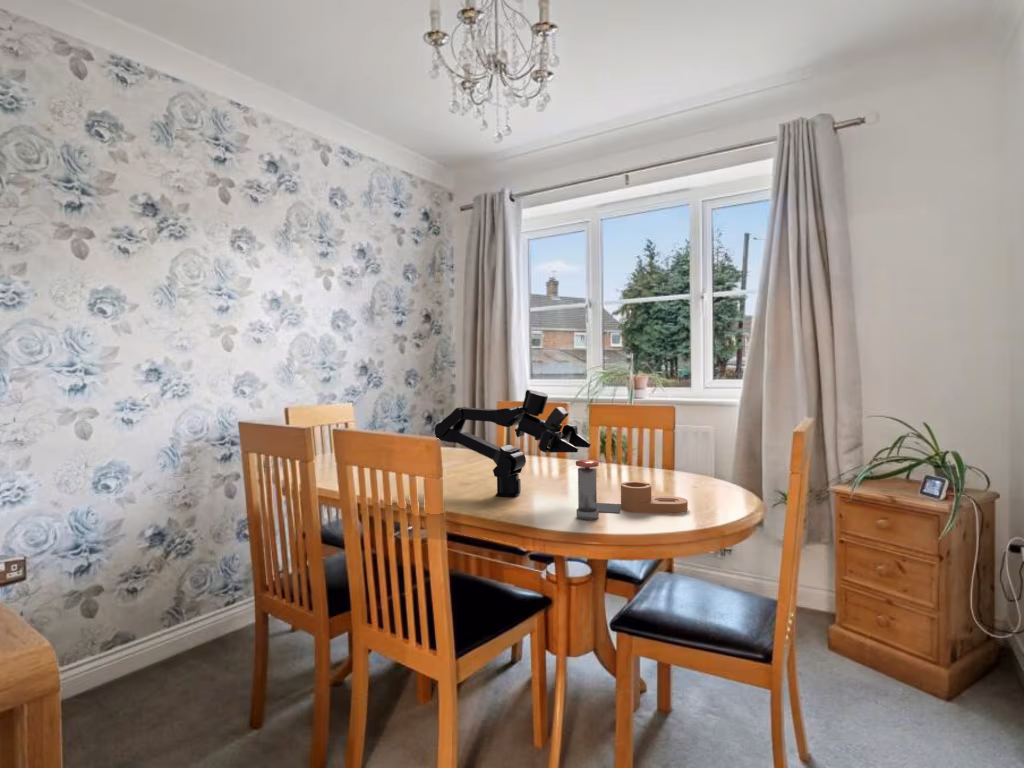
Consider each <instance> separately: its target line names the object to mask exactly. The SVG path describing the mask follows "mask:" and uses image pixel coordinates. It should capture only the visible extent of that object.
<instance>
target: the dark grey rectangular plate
mask: <svg viewBox="0 0 1024 768" xmlns="http://www.w3.org/2000/svg"><path fill="white" fill-rule="evenodd" d="M597 509H598V510H599V513H610V514H620V513H621V510H622V509H621V503H607V502H606V503H605V502H602V503H601V502H597Z"/></svg>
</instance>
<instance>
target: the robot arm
mask: <svg viewBox="0 0 1024 768" xmlns="http://www.w3.org/2000/svg"><path fill="white" fill-rule="evenodd" d="M548 398H549V395H548V394H547V393H545V392H543V391H537V390H532V389H526V390H525V394H524V399H523V403H522V405H521V406H512V407H511V406H510V407H504V408H498V409H496V408H495V409H494V408H481V407H480V408H479V407H478V408H477V407H467V406H462V407H456V408H455V409H454V410H453V411H452V412H451V413H450V414H449V415H447V416H446V417H445V418H443V419H442V421H440V422H438V423H437V424H436V425H435V427H434V435H435V438H436V439H437V438H439V439H440V440H439V439H438V440H439V441H442V442H446V443H452V444H453V443H454V444H458V445H461V446H463V447H465V448H467V449H469V450H471V451H472V452H475V453H478V454H480V455H482V456H483V457H486V458H488V459H490V460H492V461H493V463H494V464H495V465H496V466H495V467H494V468H493V469H492V473H493V476H494V477H496V486H497V487H496V491H497V492H496V493H495V496H496V497H507V498H508V497H512V498H513V497H514V498H515V497H517V496H518V495H519V494H520V493H521V491H522V490H521V489H522V487H521V484H522V483H521V478H519V477H520V476H519V475H520V473H522V470H523V468H524V467H525V466H526V463H527V460H526V459H527V458H526V455H525V453H524V452H523V451H521V448H517V447H515V446H513V445H511V444H505V445H503V446H498V445H496V444H494V443H491V442H489V441H487V440H486V439H483V438H481V437H479V436H476V435H474V434H472V433H470V432H467V431H466V430H465V428H464V426H465V424H466V421H479V422H490V423H494V424H495V425H498V426H500V427H504V428H510V427H513V426H517V428H514V431H515V436H516V438H520V437H523V436H524V435H525V434H526V435H529V436H530V437H533V438H534V440H535V441H539V443H538V449H539V451H541V452H543V453H545V454H548V453H549V454H550V453H551V454H552V453H578V451H579V448H588V449H589V448H591V443H590V442H589V441H588V440H587V439H585V438H584V437H582V436H581V434H579V432H578V426H577V425H576V424H573V423H572V422H571V423H568V424H566V425H564V426H563V424H562V423H563V421H565V419H566V418H567V417H568V416H569V415H570V414H569V412H568V411H567V408H566V407H565V408H564V407H562V406H557V407H555V408H554V409H553V410H552V411H551V413H550V414H549V415H548V417H547V419H545V420H544V419H541V418H539V416H540V415H542V414H544V411H545V408H546V405H547V402H548Z"/></svg>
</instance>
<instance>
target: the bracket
mask: <svg viewBox="0 0 1024 768" xmlns="http://www.w3.org/2000/svg"><path fill="white" fill-rule="evenodd" d="M620 504H621V509H620V510H622V511H624V512H627V511H628V513H634V512H635V514H636V513H637V514H683V513H682V512H684V513H687V512H688V511H687V510H689V509H688V505H689V503H688V499H686V498H684V497H681V496H673V495H669V496H666V495H664V496H663V495H652V484H651V483H649V482H645V481H638V480H637V481H635V480H634V481H631V480H630V481H624V482H622V483H620ZM686 511H687V512H686Z"/></svg>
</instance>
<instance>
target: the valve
mask: <svg viewBox="0 0 1024 768" xmlns="http://www.w3.org/2000/svg"><path fill="white" fill-rule="evenodd" d="M575 466H577V467H578V468H577V484H578V485H577V491H578V492H577V494H578V495H577V498H578V502H577V503H578V505H577V507H578V508H576V519H578V520H581V521H585V522H586V521H587V522H588V521H589V522H590V521H597V520H598V519H599V518H600V517H599V516H600V515H599V513H600V512H599V510H598V509H597V503H598V501H597V495H598V494H597V489H598V488H597V468H596V467H599V461H598V460H594V459H580V460H576V461H575Z"/></svg>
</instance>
